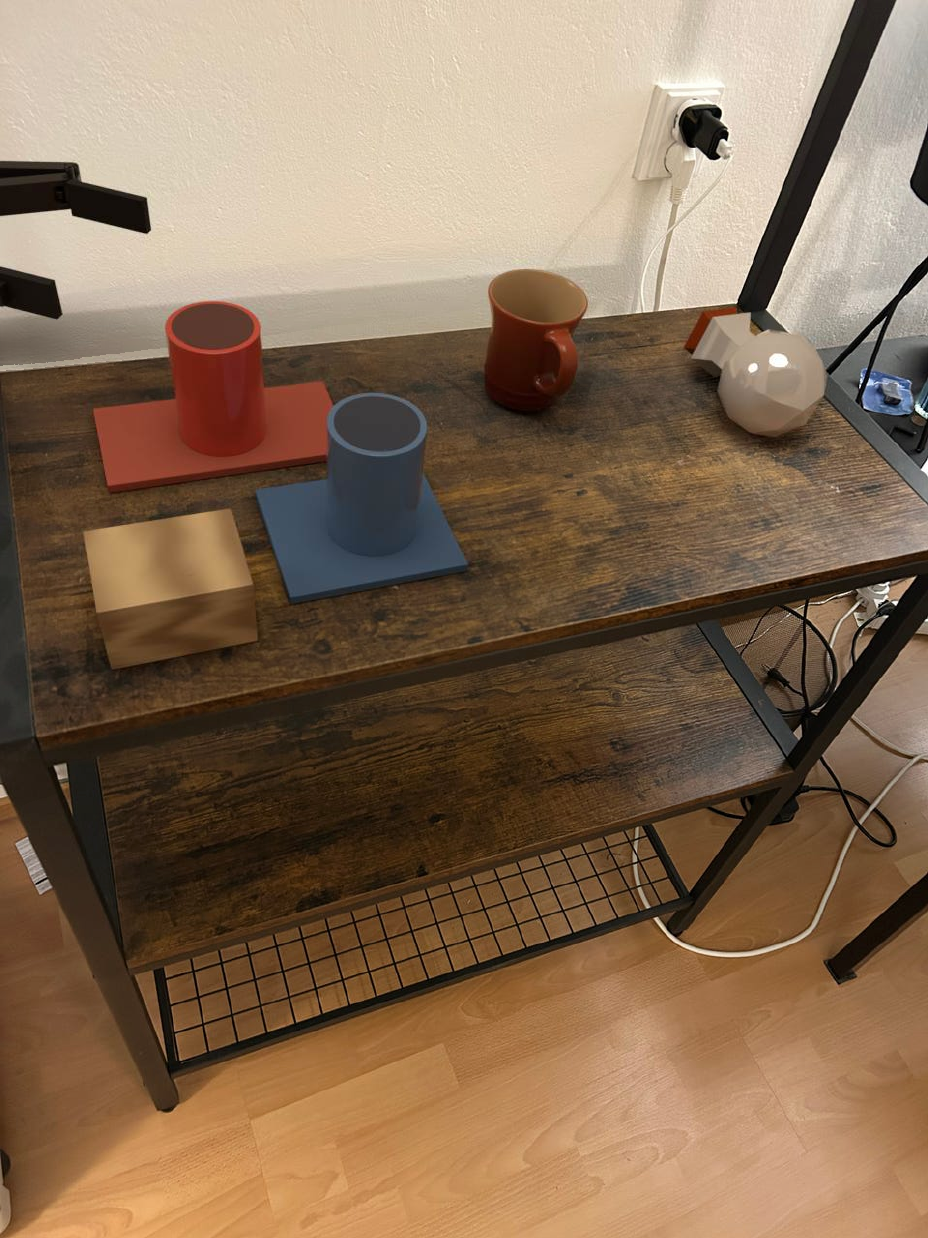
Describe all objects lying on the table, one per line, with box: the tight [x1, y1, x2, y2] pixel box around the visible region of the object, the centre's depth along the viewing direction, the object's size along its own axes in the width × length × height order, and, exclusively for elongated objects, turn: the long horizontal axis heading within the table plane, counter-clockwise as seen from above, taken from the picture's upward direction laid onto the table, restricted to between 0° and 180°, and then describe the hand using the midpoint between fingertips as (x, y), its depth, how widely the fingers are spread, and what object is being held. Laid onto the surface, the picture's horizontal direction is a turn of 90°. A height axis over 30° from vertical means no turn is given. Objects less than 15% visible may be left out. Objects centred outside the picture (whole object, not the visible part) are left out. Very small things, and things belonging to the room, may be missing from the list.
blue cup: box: [325, 392, 428, 556], centre depth 73 cm, size 7×7×10 cm
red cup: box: [164, 300, 266, 456], centre depth 79 cm, size 7×7×10 cm
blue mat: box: [254, 472, 469, 605], centre depth 77 cm, size 14×12×1 cm
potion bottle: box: [683, 306, 829, 438], centre depth 91 cm, size 9×10×15 cm
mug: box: [483, 268, 589, 412], centre depth 87 cm, size 12×9×10 cm
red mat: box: [92, 380, 335, 494], centre depth 83 cm, size 20×10×1 cm, turn 110°
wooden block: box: [82, 508, 259, 671], centre depth 67 cm, size 10×8×6 cm
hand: (104, 255), depth 73 cm, fingers open, 13 cm apart
